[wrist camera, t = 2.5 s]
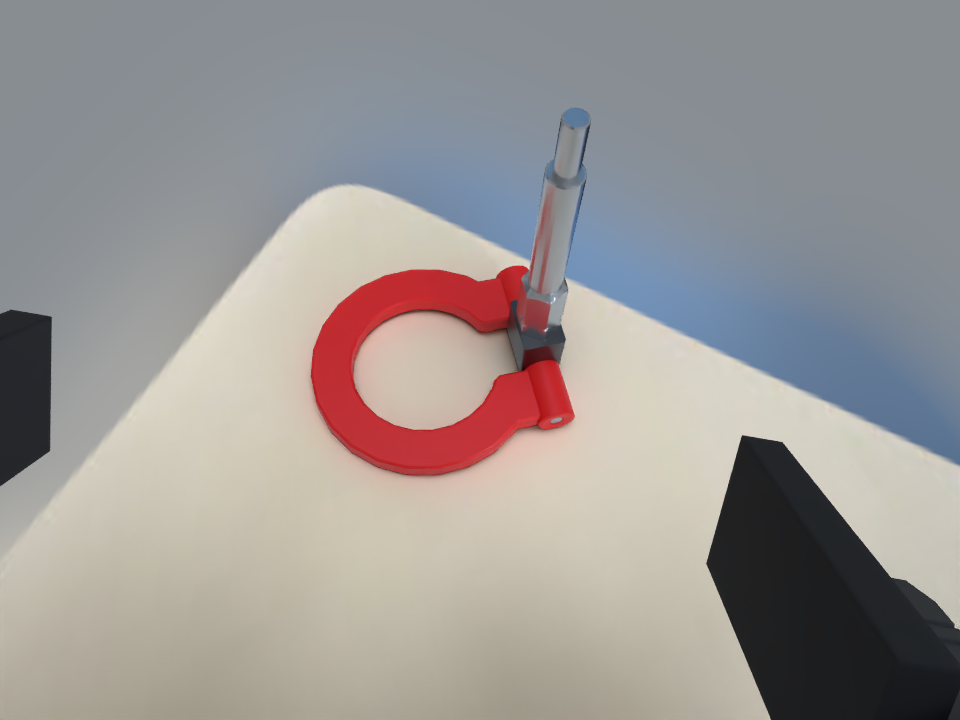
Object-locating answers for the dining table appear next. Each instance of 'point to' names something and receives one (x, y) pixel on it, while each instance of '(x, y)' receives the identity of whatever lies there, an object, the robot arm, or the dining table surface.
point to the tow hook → (487, 306)
